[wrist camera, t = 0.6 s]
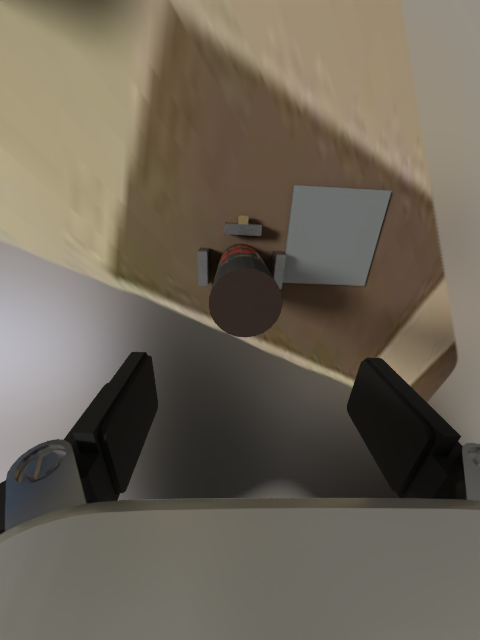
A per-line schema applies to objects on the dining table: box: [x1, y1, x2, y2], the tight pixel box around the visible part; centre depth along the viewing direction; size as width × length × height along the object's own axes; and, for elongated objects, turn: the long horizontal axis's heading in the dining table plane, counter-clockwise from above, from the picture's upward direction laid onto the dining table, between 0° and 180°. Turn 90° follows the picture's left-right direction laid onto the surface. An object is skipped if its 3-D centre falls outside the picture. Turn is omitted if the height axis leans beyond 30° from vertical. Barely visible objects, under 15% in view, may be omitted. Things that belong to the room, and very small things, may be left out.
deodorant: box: [209, 244, 282, 337], centre depth 25 cm, size 6×6×15 cm
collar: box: [197, 215, 286, 289], centre depth 31 cm, size 13×11×3 cm
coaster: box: [282, 185, 391, 286], centre depth 31 cm, size 12×12×1 cm
